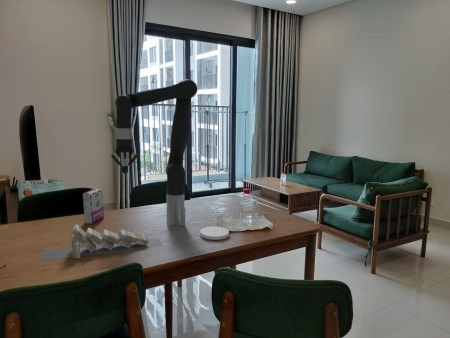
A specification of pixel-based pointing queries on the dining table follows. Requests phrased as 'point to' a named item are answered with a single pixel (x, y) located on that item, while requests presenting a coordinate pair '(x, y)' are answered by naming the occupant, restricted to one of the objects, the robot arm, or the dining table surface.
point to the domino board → (99, 250)
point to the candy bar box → (93, 206)
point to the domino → (75, 247)
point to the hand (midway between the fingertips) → (124, 173)
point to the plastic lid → (214, 233)
